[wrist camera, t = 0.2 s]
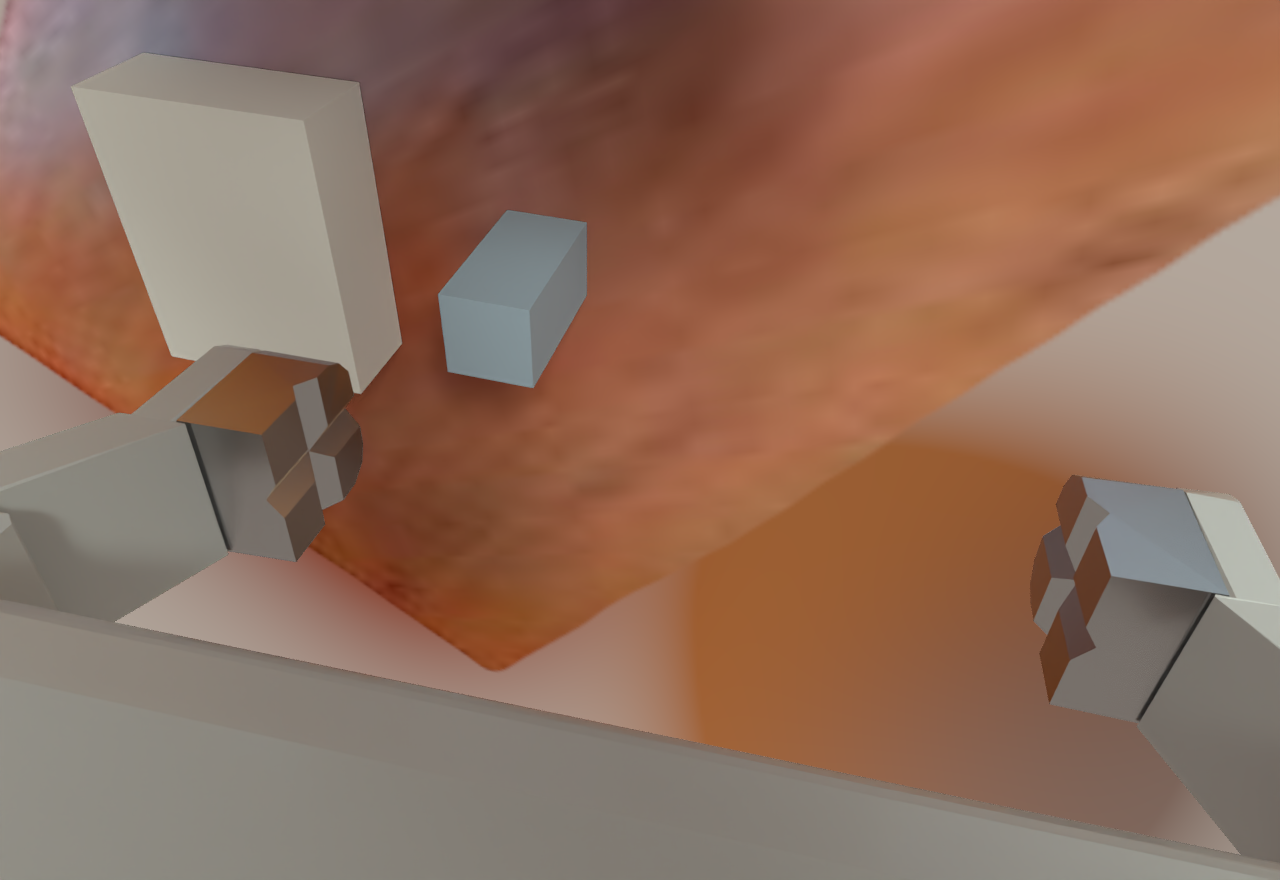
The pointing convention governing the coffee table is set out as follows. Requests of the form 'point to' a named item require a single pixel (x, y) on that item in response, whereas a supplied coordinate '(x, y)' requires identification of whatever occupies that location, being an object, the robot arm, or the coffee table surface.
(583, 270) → the slate block
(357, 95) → the base
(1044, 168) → the coffee table surface
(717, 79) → the coffee table surface
